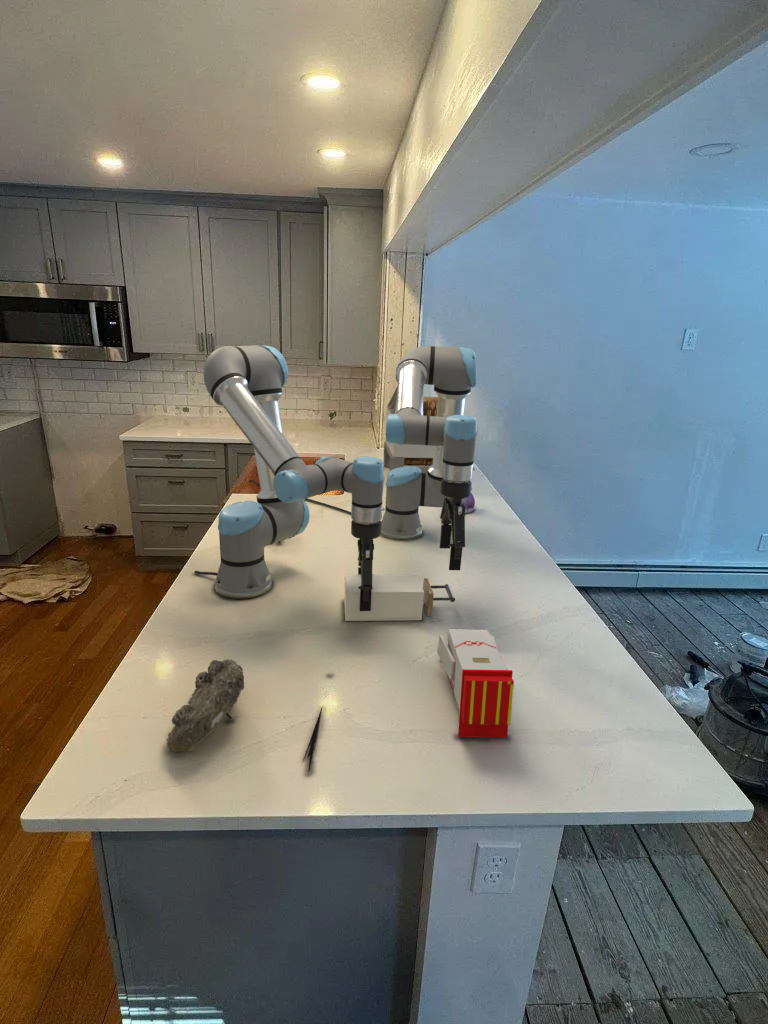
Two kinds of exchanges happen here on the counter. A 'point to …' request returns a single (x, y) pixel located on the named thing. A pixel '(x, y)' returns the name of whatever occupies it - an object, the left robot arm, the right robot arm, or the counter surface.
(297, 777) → the counter surface
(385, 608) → the cabinet
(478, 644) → the toy
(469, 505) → the figurine
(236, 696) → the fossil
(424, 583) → the drawer
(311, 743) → the feather
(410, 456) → the transformer
